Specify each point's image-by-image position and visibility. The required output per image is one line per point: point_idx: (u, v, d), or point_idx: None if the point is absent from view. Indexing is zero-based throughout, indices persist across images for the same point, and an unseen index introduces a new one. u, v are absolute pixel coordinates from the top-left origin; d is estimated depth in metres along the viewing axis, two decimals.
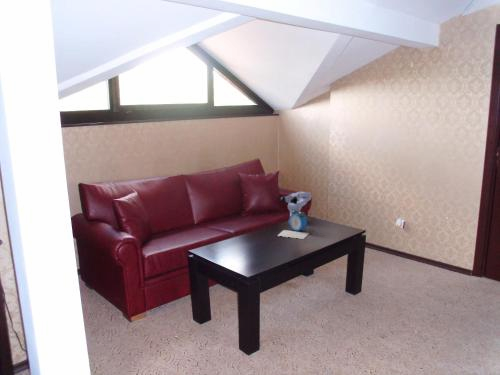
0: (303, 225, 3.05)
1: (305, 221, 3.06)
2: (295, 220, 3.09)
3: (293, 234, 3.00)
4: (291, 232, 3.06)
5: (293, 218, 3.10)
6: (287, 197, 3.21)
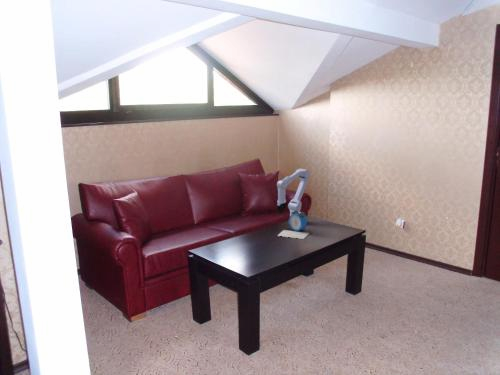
0: (303, 225, 3.05)
1: (305, 221, 3.06)
2: (295, 220, 3.09)
3: (293, 234, 3.00)
4: (291, 232, 3.06)
5: (293, 218, 3.10)
6: None
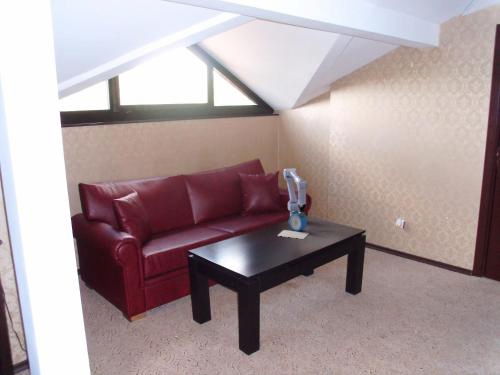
0: (303, 225, 3.05)
1: (305, 221, 3.06)
2: (295, 220, 3.09)
3: (293, 234, 3.00)
4: (291, 232, 3.06)
5: (293, 218, 3.10)
6: None
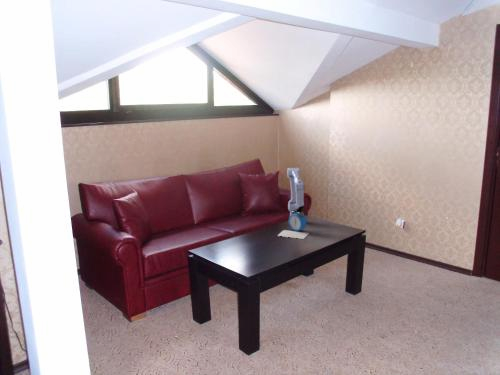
0: (303, 225, 3.04)
1: (304, 221, 3.05)
2: (294, 220, 3.08)
3: (293, 234, 3.00)
4: (291, 232, 3.06)
5: (292, 218, 3.09)
6: None
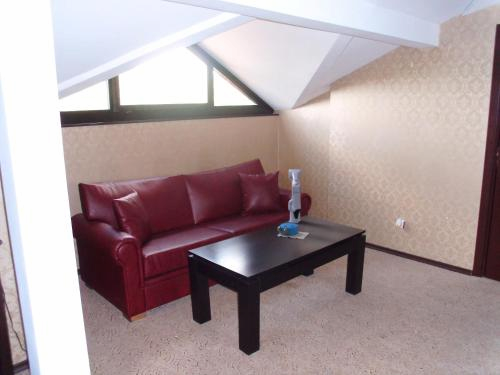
0: (296, 231, 3.00)
1: (294, 229, 2.98)
2: None
3: None
4: None
5: None
6: None
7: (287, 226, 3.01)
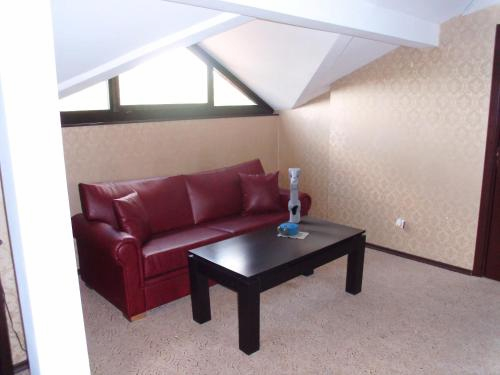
0: (296, 231, 3.00)
1: (294, 229, 2.98)
2: None
3: None
4: None
5: None
6: None
7: (287, 226, 3.01)
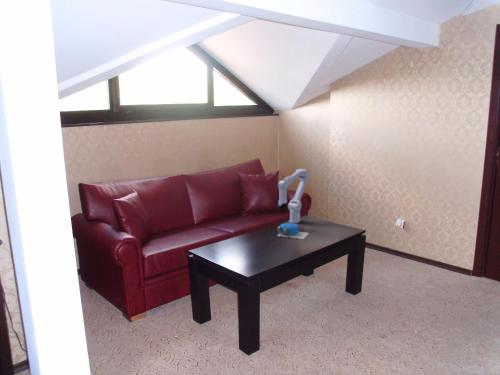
0: (296, 231, 3.00)
1: (294, 229, 2.98)
2: None
3: None
4: None
5: None
6: None
7: (287, 226, 3.01)
